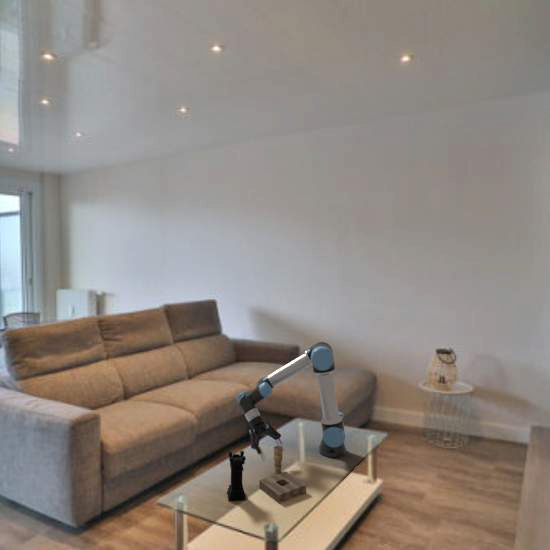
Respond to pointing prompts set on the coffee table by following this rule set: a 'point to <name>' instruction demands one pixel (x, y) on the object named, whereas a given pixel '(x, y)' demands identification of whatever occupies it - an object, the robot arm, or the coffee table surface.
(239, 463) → the chess piece
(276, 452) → the oak peg
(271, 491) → the walnut board
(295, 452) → the coffee table surface
